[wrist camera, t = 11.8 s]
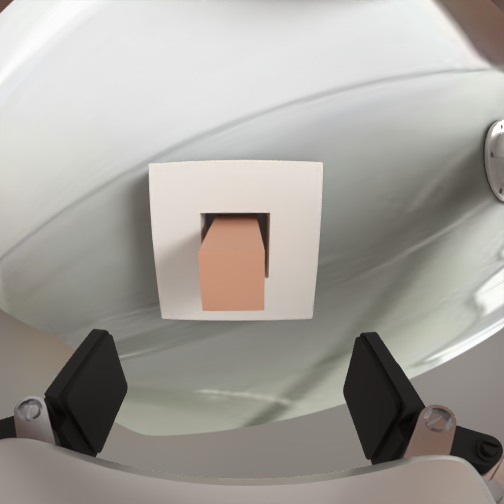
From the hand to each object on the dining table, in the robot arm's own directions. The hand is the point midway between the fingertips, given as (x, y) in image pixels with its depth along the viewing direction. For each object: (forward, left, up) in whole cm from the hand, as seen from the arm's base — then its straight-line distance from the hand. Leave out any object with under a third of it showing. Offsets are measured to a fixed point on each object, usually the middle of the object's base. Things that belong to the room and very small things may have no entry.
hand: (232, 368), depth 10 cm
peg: (0, 0, -20) cm, 20 cm away
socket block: (0, 0, -21) cm, 21 cm away
